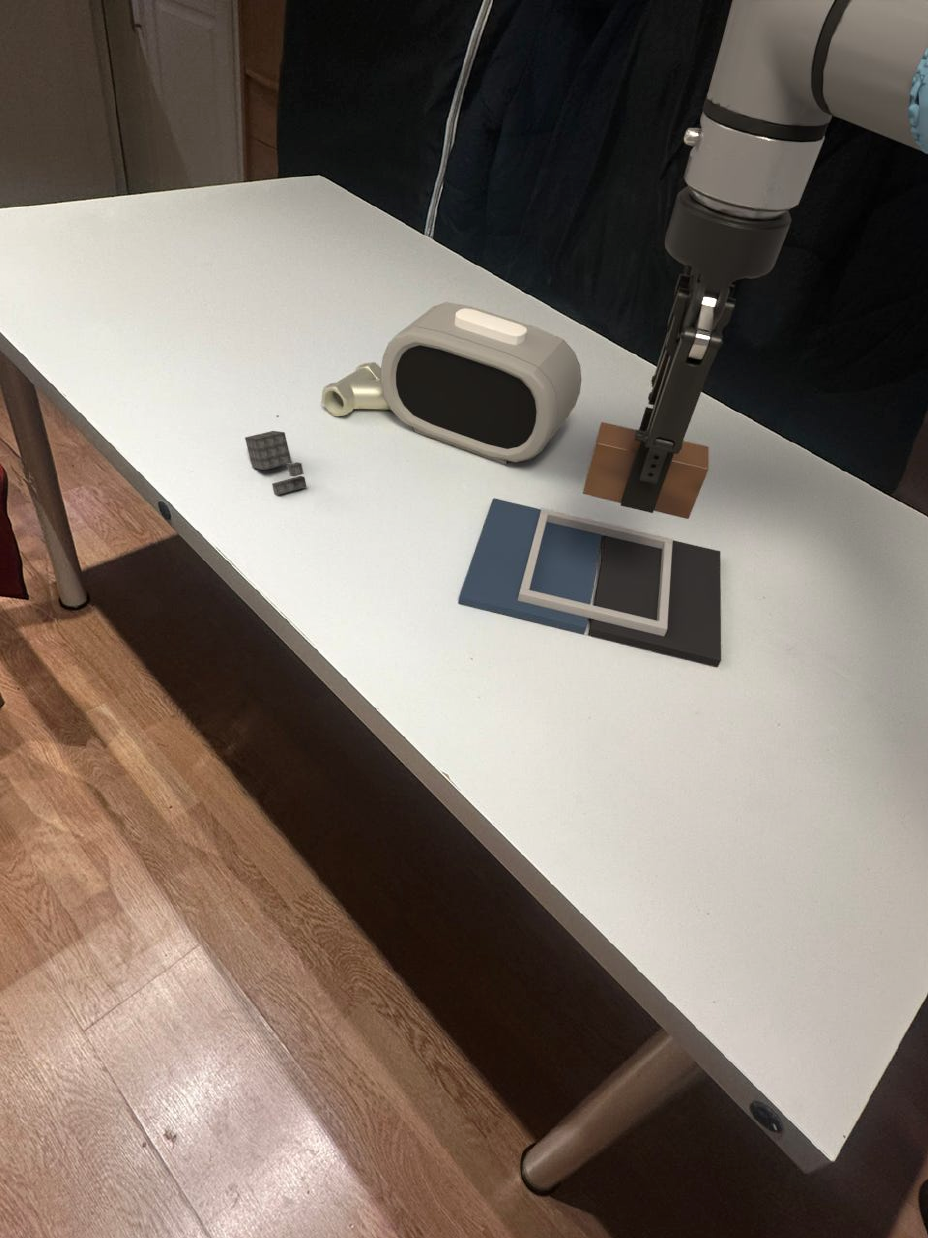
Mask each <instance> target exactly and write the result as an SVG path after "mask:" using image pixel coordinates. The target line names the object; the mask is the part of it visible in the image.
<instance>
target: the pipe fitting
mask: <svg viewBox="0 0 928 1238" xmlns="http://www.w3.org/2000/svg"><path fill="white" fill-rule="evenodd" d="M321 403H322V405H323V407H324V408H325V409H326V410H327V412H328V413H329V414H330V415H332V416H333V417H343V416H347V415H348V414H350V413H351V412H353V411H354V410H384V411H385V410H388V411H389V410H390V411H392V410H391V409H390V407H389V405H388V403H387V401H386V399H385V397H384V393H383V389H382V385H381V366H380V365H379V364H377V363H376V362H374V361H373V362H371V361H370V362H365V363H361V364H360V365H358V366H357V367H355V370H354V371H353V372H351V373H349V374H348V375H347V376H345V377H343V378H342V379H340V380H338V381H337V382H331V383H329V384H327V385H325V386H323V388H322V392H321Z"/></svg>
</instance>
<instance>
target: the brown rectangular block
mask: <svg viewBox="0 0 928 1238" xmlns="http://www.w3.org/2000/svg"><path fill="white" fill-rule="evenodd" d="M636 430H637V429H634V428H630V427H626V426H623V425H622V426H621V425H617V424H613V423H608V422H604V421H601V422H600V424H599V428H598V432H597V435H596V439H595V442H594V446H593V448H592V449H593V450H592V452H591V456H590V460H589V464H588V467H587V470H586V474H585V480H584V485H583V490H582V495H586V496H590V497H594V498H598V499H603V500H606V501H612V502H614V503H619V504H621V500H622V497H623V494H624V491H625V488H626V485H627V481H628V478H629V475H630V472H631V469H632V466H633V463H634V459H635V456H636V453H637V450H638V447H639V444H640V441H637V440H634V439H635V434H636ZM682 443H683V445H682V449H681V450H680V451H679V453H678V454H674V455H673V458H672V461H671V464H670V466H669V469H668V472H667V475H666V478H665V480H664V483H663V486H662V489H661V492H660V495H659V497H658V500H657V503H656V506H655V509H654V511H653V512H657V513H661V514H665V515H670V516H673V517H678V518H682V519H685V520H689V519H690V516H691V514H692V512H693V509H694V507H695V504H696V502H697V499H698V497H699V494H700V492H701V489H702V486H703V484H704V482H705V479H706V477H707V475H708V472H709V470H710V469H709V464H710V462H709V461H710V460H709V459H710V458H709V457H710V456H709V455H710V454H709V453H710V452H709V451H710V447H709V446H707V445H703V444H698V443H695V442H690V441H685V440H683V442H682Z"/></svg>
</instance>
